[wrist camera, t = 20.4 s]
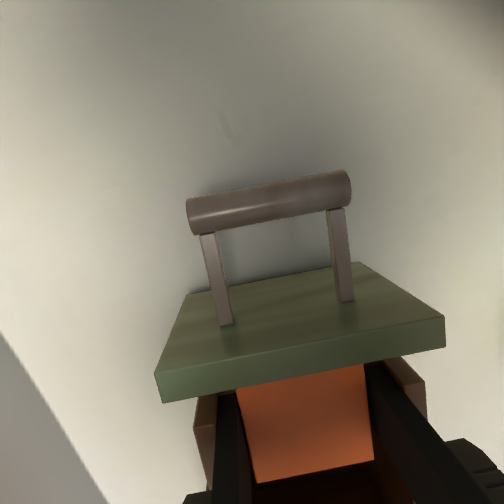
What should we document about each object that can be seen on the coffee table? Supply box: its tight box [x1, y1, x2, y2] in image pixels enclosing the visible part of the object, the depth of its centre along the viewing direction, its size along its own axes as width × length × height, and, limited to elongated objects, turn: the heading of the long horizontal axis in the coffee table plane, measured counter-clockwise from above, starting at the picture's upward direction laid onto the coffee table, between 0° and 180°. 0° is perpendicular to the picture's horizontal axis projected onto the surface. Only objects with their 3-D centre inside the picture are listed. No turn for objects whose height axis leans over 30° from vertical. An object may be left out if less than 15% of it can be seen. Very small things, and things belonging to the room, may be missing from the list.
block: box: [236, 364, 374, 483], centre depth 15 cm, size 5×5×5 cm
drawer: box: [154, 170, 446, 504], centre depth 15 cm, size 19×10×7 cm, turn 10°
